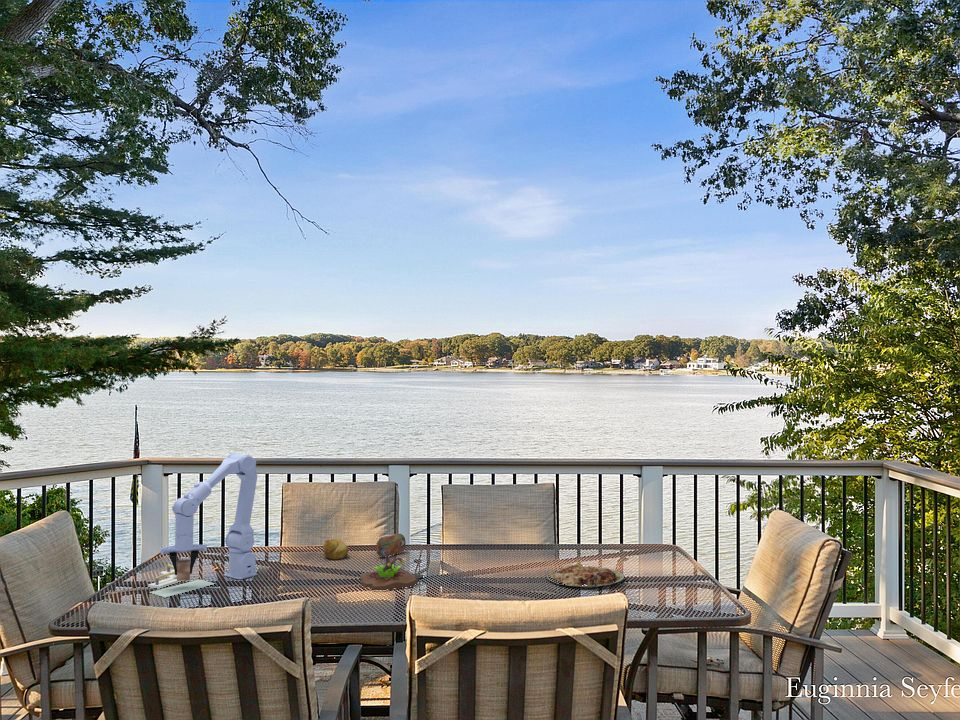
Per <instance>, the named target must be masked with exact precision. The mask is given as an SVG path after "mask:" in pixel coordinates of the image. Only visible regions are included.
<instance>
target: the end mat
mask: <svg viewBox="0 0 960 720" xmlns="http://www.w3.org/2000/svg"><path fill="white" fill-rule="evenodd" d="M214 584H216V583H215V582H211V581H206V580H203V579H196V580H192V581H188V582H184V583H181V584H175V585H171V586H168V587H165V588H162V589H155V590H153V591H149V593H152V594H151V595H153V594H155V595H154V596H156V595H158V596H157V597H159V596H162V597H161V598H163V597H164V598H163V599H167V598H166V597H168V598H171V597H170V596H172V597H175V596H179V595H183V594H186V593H185V592H187V593H190V592H193V591H192V590H194V591H197V590H196V589H198V590H201V589H200V588H202V589H204V588H203V587H205V588H207V587H206V586H209V587H211V586H210V585H213V586H215V585H214ZM189 591H190V592H189ZM182 593H183V594H182ZM178 594H179V595H178ZM174 595H175V596H174Z"/></svg>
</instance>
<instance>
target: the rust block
mask: <svg viewBox="0 0 960 720" xmlns="http://www.w3.org/2000/svg"><path fill="white" fill-rule="evenodd" d="M190 579H191V574H190V558H187V559H177V581H182V580H186V581H190Z"/></svg>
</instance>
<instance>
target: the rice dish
mask: <svg viewBox="0 0 960 720" xmlns="http://www.w3.org/2000/svg"><path fill="white" fill-rule="evenodd" d="M556 570H560V571H557V572H554V571H556ZM551 572H554V573H551ZM548 573H551V574H550V575H551V577H552V578H554V579H556V580H558V581H561V582H563V584H559V583H556V582H554V581H552V580H550V579H549V578H548V575H549V574H548ZM548 573H547V574H548V575H547V574H546V579H547V580H548V581H549V582H551V583H554V584H557V585H564V584H565V585H564V586H570V587H581V588H586V589H591V587H592V588H597V587H602V586H610V585H613V584H616V583H619V582H622V581H623V580H624V579H625V574H624V573H623V571H619V570H615V569H612V568H607V567H601V566H591V565H590V566H583V564H581V563H580V562H578V563H575V564H574V565H573V564H571V565H570V566H569V565H568V566H567V567H563V568H558V569H554V570H551V571H549V572H548ZM613 581H616V582H613ZM584 584H586V585H588V586H582V585H584Z"/></svg>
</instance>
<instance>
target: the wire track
mask: <svg viewBox="0 0 960 720" xmlns="http://www.w3.org/2000/svg"><path fill="white" fill-rule="evenodd" d="M166 577H167V578H166ZM163 578H165V579H163ZM160 579H161V580H160ZM182 581H183V582H185V581H184V580H182ZM178 582H180V583H182V582H181V581H177V575H175V571H174V567H173V564H171V563H168V564H167V566H166V570H165V571H160V572H159V575H158V576H155V582H153V583H149V584H147V588H148V587H150V588H149V589H153V588H157V589H156V590H160V588H162V589H164V588H163V587H165V588H167V587H166V586H168V587H170V586H169V585H171V586H173V585H172V584H174V585H176V584H175V583H177V584H179V583H178Z"/></svg>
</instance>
